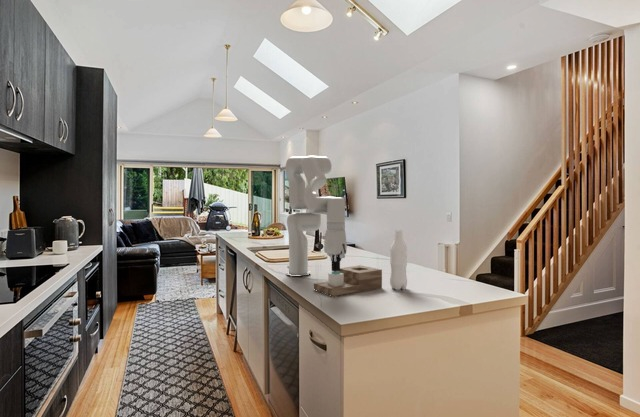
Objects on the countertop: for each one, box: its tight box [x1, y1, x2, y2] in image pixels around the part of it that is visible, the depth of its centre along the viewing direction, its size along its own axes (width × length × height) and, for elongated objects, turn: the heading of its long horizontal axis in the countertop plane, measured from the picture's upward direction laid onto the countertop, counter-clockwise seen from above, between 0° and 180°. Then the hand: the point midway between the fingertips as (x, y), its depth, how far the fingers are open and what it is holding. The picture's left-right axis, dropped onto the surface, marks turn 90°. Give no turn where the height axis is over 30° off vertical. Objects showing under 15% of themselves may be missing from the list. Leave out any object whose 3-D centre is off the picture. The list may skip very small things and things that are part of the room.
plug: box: [327, 270, 344, 286], centre depth 161 cm, size 4×4×8 cm
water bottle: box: [389, 229, 408, 291], centre depth 165 cm, size 7×7×25 cm
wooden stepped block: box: [313, 264, 383, 298], centre depth 165 cm, size 14×26×8 cm, turn 125°
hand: (335, 270), depth 161 cm, fingers closed
